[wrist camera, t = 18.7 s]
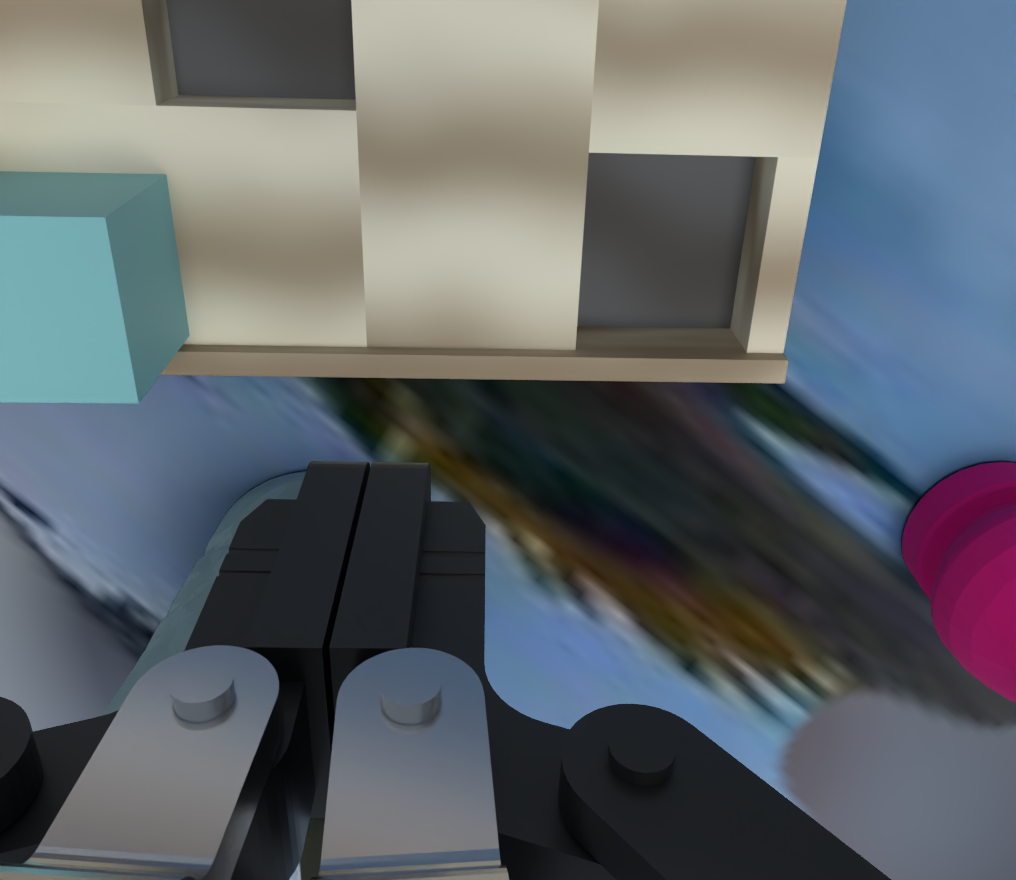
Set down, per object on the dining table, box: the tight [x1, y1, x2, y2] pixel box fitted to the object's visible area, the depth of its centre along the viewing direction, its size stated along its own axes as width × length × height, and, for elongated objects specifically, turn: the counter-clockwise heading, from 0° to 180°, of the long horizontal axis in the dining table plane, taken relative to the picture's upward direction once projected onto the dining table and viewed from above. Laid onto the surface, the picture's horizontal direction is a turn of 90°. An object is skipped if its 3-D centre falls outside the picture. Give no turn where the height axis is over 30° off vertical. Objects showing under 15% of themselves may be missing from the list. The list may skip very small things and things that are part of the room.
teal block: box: [0, 171, 190, 403], centre depth 26 cm, size 5×5×5 cm
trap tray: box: [0, 0, 847, 383], centre depth 27 cm, size 15×25×4 cm, turn 88°
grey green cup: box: [102, 471, 325, 880], centre depth 31 cm, size 10×10×12 cm
